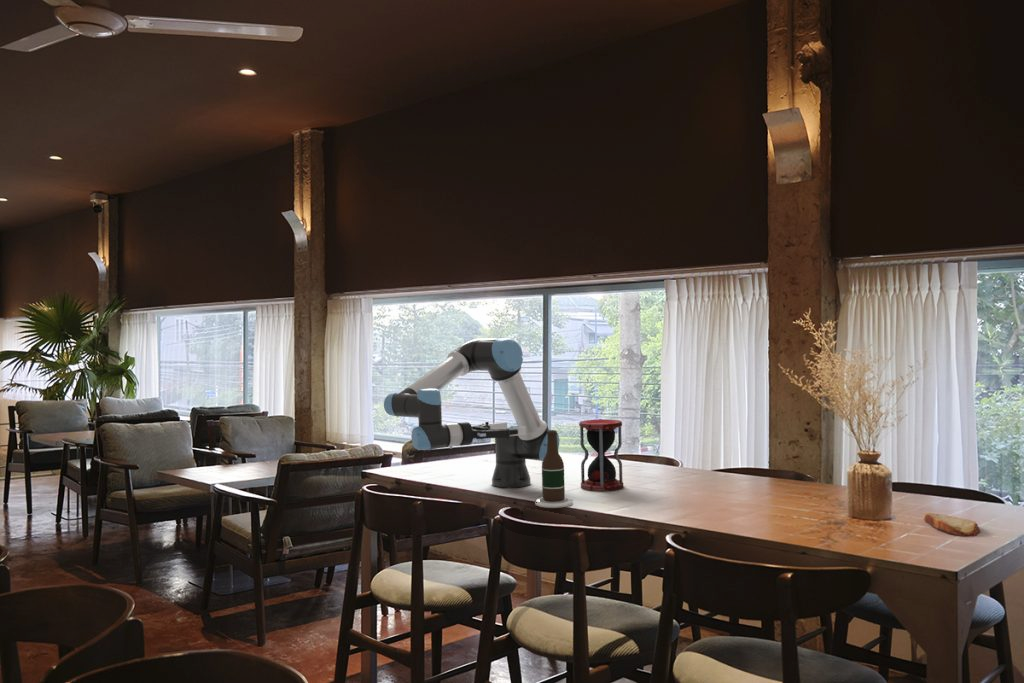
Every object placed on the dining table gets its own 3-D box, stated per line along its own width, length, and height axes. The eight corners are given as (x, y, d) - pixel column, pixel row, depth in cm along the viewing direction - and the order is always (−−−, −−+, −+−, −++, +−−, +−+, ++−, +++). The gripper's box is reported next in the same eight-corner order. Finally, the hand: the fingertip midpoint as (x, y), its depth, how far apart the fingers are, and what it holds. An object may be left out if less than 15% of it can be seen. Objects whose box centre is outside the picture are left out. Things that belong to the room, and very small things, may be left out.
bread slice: (927, 518, 253) (927, 506, 253) (992, 527, 240) (992, 515, 240) (904, 529, 241) (904, 516, 241) (971, 539, 228) (971, 526, 228)
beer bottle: (563, 502, 281) (561, 432, 280) (540, 501, 282) (539, 432, 282) (566, 497, 288) (564, 429, 288) (544, 497, 290) (542, 429, 289)
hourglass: (580, 491, 305) (578, 424, 304) (581, 483, 321) (579, 419, 320) (624, 491, 303) (622, 423, 303) (622, 482, 319) (621, 418, 319)
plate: (535, 499, 292) (535, 496, 292) (572, 499, 291) (572, 495, 291) (534, 508, 279) (534, 503, 279) (573, 507, 278) (572, 503, 278)
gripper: (444, 441, 282) (500, 435, 292) (474, 450, 260) (533, 443, 269) (443, 419, 282) (499, 413, 291) (473, 427, 259) (532, 420, 269)
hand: (515, 428), depth 280 cm, fingers open, 13 cm apart
